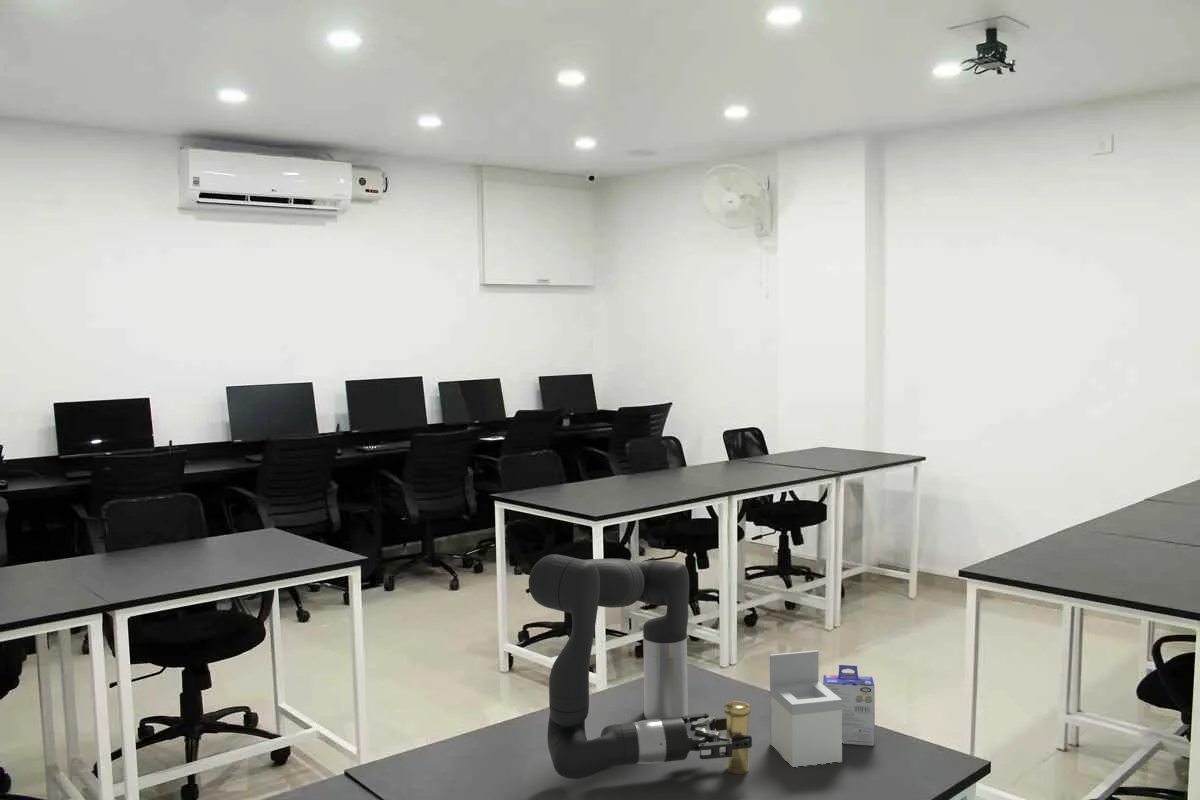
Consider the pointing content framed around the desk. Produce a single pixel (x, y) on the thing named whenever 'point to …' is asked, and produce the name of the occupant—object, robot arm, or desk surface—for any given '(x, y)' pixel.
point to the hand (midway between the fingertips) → (742, 731)
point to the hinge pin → (737, 734)
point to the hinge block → (803, 711)
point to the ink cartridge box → (854, 705)
